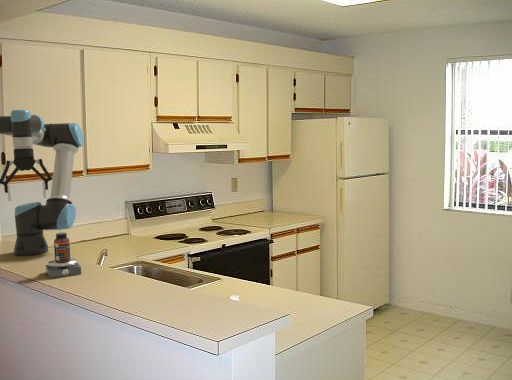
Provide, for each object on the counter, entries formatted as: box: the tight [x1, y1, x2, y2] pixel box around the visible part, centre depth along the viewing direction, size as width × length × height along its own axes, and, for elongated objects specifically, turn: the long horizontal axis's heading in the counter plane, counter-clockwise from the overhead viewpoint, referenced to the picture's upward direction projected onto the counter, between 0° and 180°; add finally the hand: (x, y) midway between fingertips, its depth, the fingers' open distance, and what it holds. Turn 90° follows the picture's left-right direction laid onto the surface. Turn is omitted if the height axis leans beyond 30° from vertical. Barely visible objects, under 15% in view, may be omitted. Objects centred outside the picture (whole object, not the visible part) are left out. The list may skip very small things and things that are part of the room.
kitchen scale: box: [45, 257, 82, 279], centre depth 229 cm, size 12×12×5 cm
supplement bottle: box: [53, 232, 72, 263], centre depth 228 cm, size 6×6×11 cm
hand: (27, 199), depth 238 cm, fingers open, 13 cm apart
